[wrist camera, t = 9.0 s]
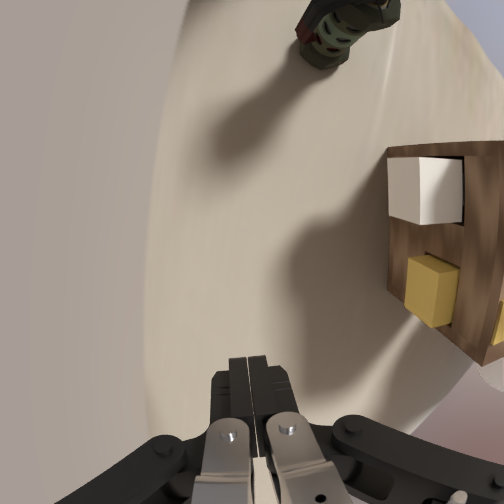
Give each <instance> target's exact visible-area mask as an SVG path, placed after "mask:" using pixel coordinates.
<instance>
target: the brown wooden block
mask: <svg viewBox="0 0 504 504" xmlns="http://www.w3.org/2000/svg"><path fill="white" fill-rule="evenodd" d="M406 157H425V158H441V159H455V160H462V174H465V206H462V222H454V223H441V224H427V225H418V224H415V223H412V222H409V221H406V220H402V219H399V218H396V217H393V216H390V241H389V267H388V284H387V290H388V291H389V292H390V293H391V294H393V295H394V296H395V297H397V298H398V299H399V300H400V301H402V302H403V303H405V293H406V282H407V270H408V258H409V257H416V256H424V255H431V254H433V255H435V256H437V257H439V258H441V259H444V260H446V261H448V262H450V263H452V264H454V265H456V266H459V267H461V269H460V277H459V285H458V292H457V299H456V305H455V311H454V316H453V321H452V323H449V324H446V325H442V326H439V327H435V328H436V329H437V330H438V331H439V332H441V333H442V334H443V335H444V336H445V337H447V338H448V339H449V340H450V341H451V342H453V343H454V344H455V345H456V346H458V347H459V348H460V349H461V350H462V351H463V352H465V353H466V354H467V355H468V356H469V357H471V358H472V359H473V360H474V361H475V362H476V363H478V364H479V365H480V366H481V367H483V366H485V365H488V364H490V363H492V362H494V361H496V360H498V359H500V358H503V357H504V141H467V142H447V143H431V144H418V145H406V146H395V147H388V158H406Z"/></svg>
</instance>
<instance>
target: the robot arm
mask: <svg viewBox="0 0 504 504" xmlns="http://www.w3.org/2000/svg"><path fill="white" fill-rule="evenodd" d="M248 366H249V375H248V367H247V359H246V357H241V358H230V359H229V370H228V371H217V372H216V374H215V375H214V377H213V378H212V381H211V408H210V425H209V427H208V429H207V430H206V431H205V432H204V433H203V434H202V435H200V436H198V437H196V438H193V439H189V440H186V441H181V440H180V439H179V438H177V437H175V436H172V435H159V436H156V437H153V438H151V439H150V440H148V441H147V442H146V443H144V444H143V445H142V446H140V447H139V448H137V449H136V450H135V451H134V452H132V453H131V454H129V455H128V456H126V457H125V458H124V459H122V460H121V461H119V462H118V463H116V464H115V465H113V466H112V467H111V468H109V469H108V470H106V471H105V472H103V473H102V474H100V475H99V476H97V477H96V478H94V479H93V480H91V481H90V482H88V483H87V484H85V485H84V486H82V487H80V488H79V489H77V490H76V491H74V492H72V493H71V494H69V495H68V496H66V497H65V498H63V499H61V500H60V501H58V502H56V503H54V504H255V474H254V466H253V458H255V457H258V454H257V444H256V434H257V441H258V448H259V456H260V457H266V463H267V467H268V469H269V474H270V478H271V481H272V485H273V489H274V492H275V496H276V499H277V503H278V504H353V502H352V500H351V498H350V496H349V494H351V495H352V496H354V497H356V498H358V499H360V500H362V501H364V502H367V503H369V504H504V465H500V464H497V463H493V462H489V461H486V460H482V459H479V458H475V457H472V456H469V455H465V454H462V453H459V452H456V451H453V450H450V449H447V448H444V447H441V446H438V445H435V444H433V443H430V442H427V441H424V440H421V439H419V438H416V437H413V436H411V435H408V434H405V433H403V432H400V431H398V430H395V429H393V428H390V427H388V426H385V425H383V424H380V423H378V422H375V421H373V420H371V419H368V418H366V417H364V416H360V415H347V416H343V417H341V418H339V419H338V420H337V421H336V422H335V423H334V425H333V426H321V425H314V424H311V423H309V422H308V421H307V419H306V418H305V417H304V416H302V415H301V414H299V411H298V407H297V404H296V401H295V397H294V394H293V391H292V389H291V384H290V382H289V378H288V375H287V372H286V371H285V370H284V369H283V368H282V367H281V366H280V365H279V366H270V367H268V365H267V360H266V356H265V355H262V356H252V357H248ZM249 376H250V383H249ZM250 387H251V391H250ZM251 396H252V399H251ZM252 404H253V406H252ZM253 412H254V414H253ZM254 419H255V424H254ZM255 426H256V434H255Z"/></svg>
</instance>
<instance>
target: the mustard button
mask: <svg viewBox="0 0 504 504" xmlns="http://www.w3.org/2000/svg"><path fill="white" fill-rule="evenodd" d="M460 269H461V267H459V266H456V265H454V264H452V263H450V262H448V261H446V260H444V259H441V258H439V257H437V256H435V255H433V254H431V255H424V256H416V257H409V258H408V270H407V282H406V293H405V303H404V307H405V308H407V309H408V310H409V311H410V312H412V313H413V314H414V315H415V316H417V317H418V318H419V319H420V320H421V321H423V322H424V323H425V324H426V325H428V326H429V327H430V328H435V327H439V326H442V325H446V324H449V323H452V321H453V316H454V311H455V305H456V299H457V292H458V285H459V277H460Z"/></svg>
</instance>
